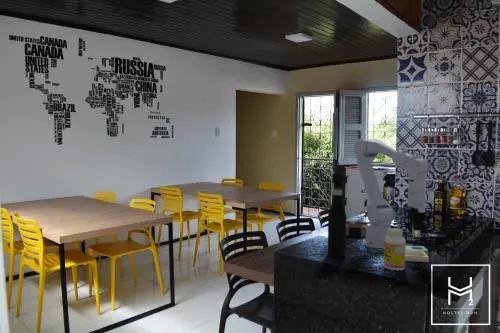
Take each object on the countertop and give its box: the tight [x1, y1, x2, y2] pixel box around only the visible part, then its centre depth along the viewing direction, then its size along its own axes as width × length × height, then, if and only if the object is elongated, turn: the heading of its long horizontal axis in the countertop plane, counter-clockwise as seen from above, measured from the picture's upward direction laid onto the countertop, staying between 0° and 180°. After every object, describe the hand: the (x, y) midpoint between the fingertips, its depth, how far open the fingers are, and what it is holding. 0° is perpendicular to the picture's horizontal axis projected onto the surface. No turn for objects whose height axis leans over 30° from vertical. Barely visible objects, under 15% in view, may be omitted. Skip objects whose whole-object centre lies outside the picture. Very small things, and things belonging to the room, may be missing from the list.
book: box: [346, 219, 370, 238], centre depth 180 cm, size 15×25×5 cm, turn 78°
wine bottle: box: [327, 173, 347, 258], centre depth 143 cm, size 6×6×30 cm
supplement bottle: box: [383, 227, 407, 272], centre depth 129 cm, size 7×7×13 cm
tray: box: [405, 250, 430, 263], centre depth 140 cm, size 8×8×2 cm
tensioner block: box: [405, 245, 429, 256], centre depth 148 cm, size 8×6×2 cm
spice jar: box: [411, 228, 421, 238], centre depth 142 cm, size 3×3×9 cm
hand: (416, 229), depth 142 cm, fingers closed on spice jar, 3 cm apart
